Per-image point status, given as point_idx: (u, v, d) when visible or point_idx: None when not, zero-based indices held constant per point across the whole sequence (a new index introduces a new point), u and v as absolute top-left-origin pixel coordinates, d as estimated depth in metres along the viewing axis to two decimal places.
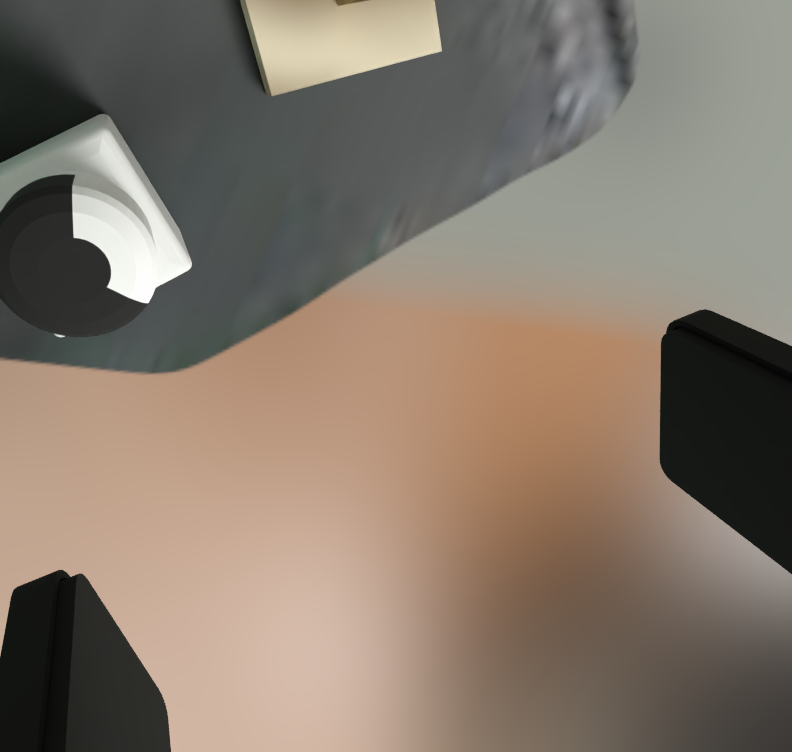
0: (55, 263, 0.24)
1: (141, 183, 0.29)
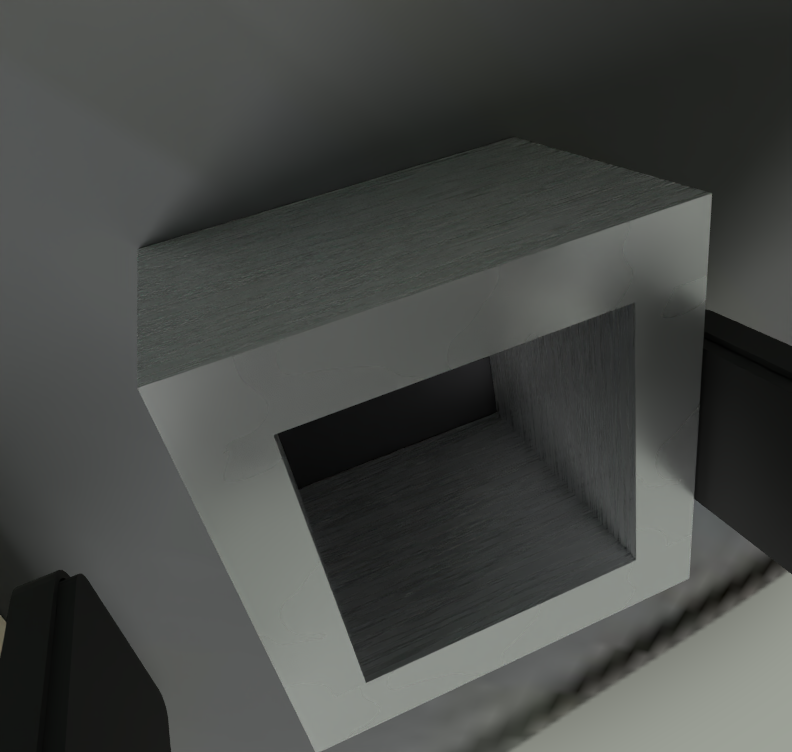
0: None
1: None
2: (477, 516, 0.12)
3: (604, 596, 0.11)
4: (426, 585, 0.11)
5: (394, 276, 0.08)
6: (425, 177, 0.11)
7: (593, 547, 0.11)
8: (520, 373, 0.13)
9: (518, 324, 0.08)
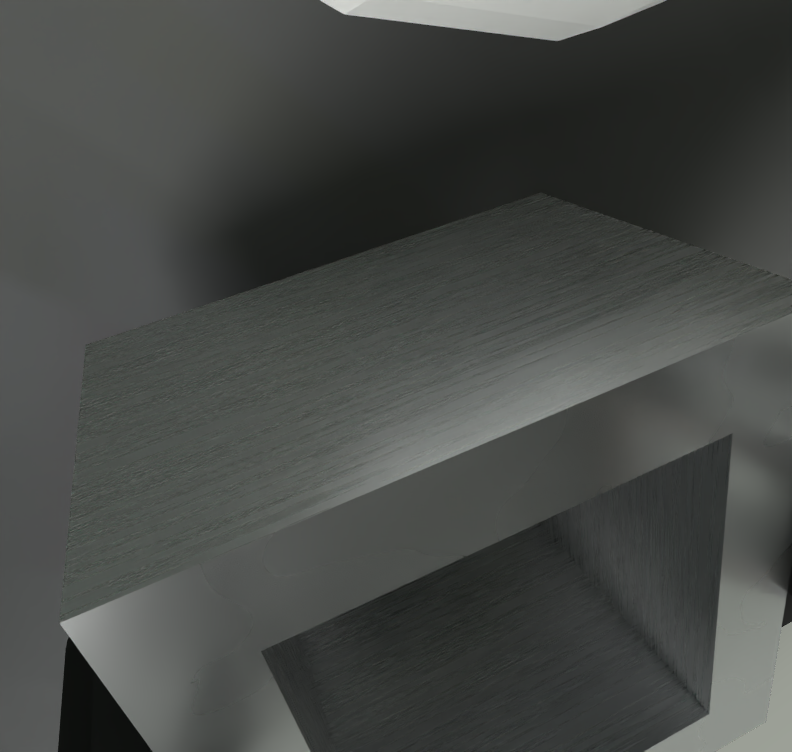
0: None
1: None
2: (506, 645, 0.10)
3: None
4: (451, 747, 0.09)
5: (421, 419, 0.06)
6: (440, 248, 0.09)
7: (653, 693, 0.09)
8: None
9: (587, 476, 0.06)
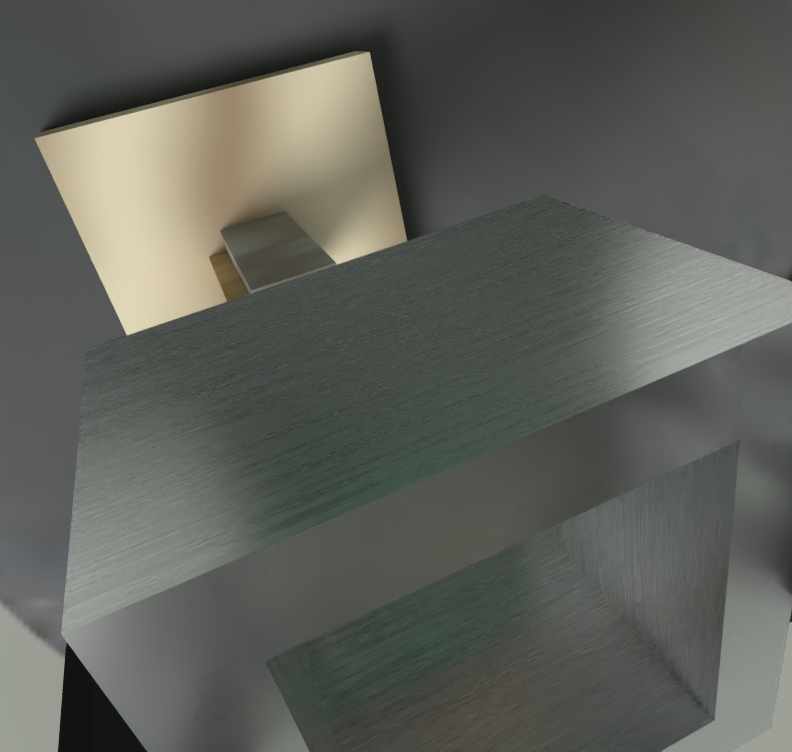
0: None
1: None
2: (510, 650, 0.10)
3: None
4: None
5: (426, 427, 0.06)
6: (444, 252, 0.09)
7: (658, 699, 0.09)
8: None
9: (594, 483, 0.06)
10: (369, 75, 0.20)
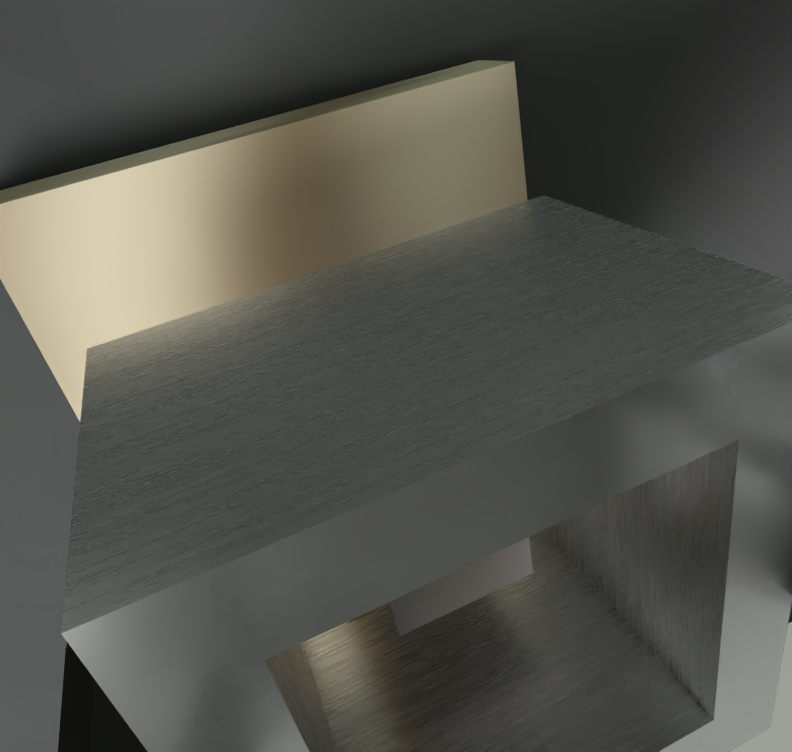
0: None
1: None
2: (510, 650, 0.10)
3: None
4: None
5: (426, 426, 0.06)
6: (443, 252, 0.09)
7: (657, 699, 0.09)
8: None
9: (593, 483, 0.06)
10: (511, 98, 0.13)
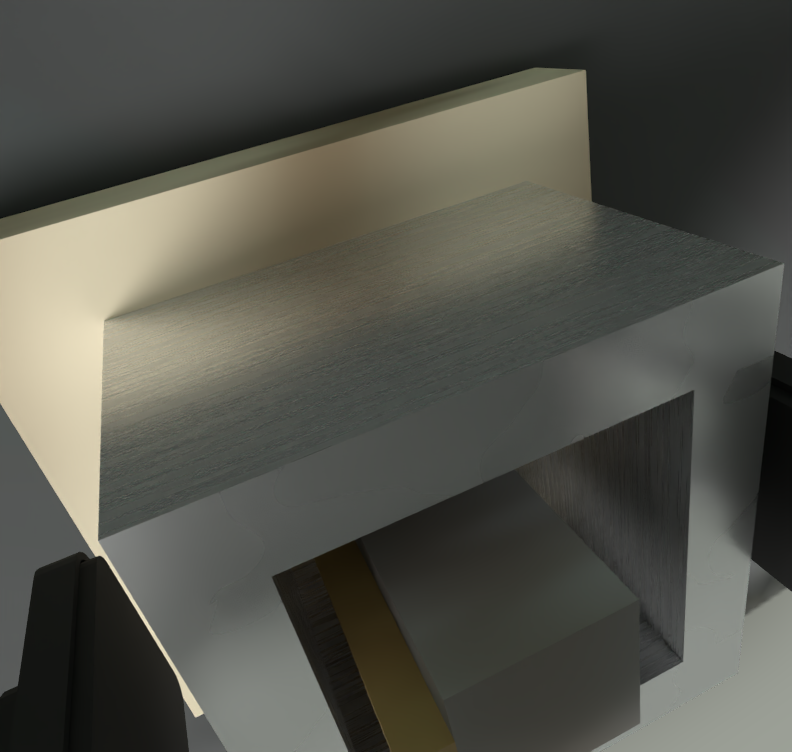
0: None
1: None
2: None
3: (647, 703, 0.10)
4: None
5: (413, 373, 0.06)
6: (432, 231, 0.10)
7: None
8: None
9: (562, 425, 0.07)
10: (580, 114, 0.11)
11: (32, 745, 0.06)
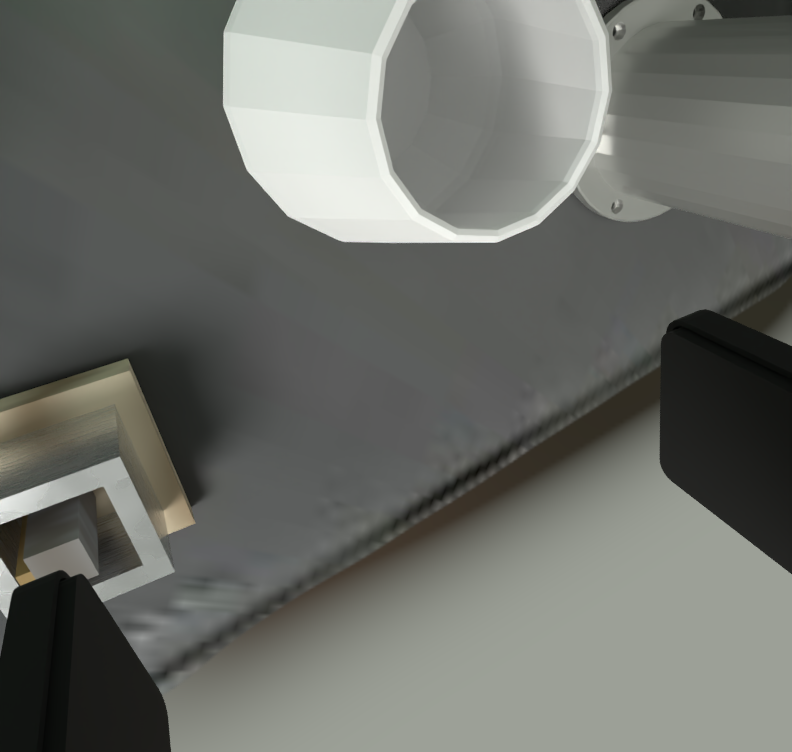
0: None
1: None
2: (101, 550, 0.32)
3: (133, 578, 0.30)
4: None
5: (21, 484, 0.27)
6: (68, 428, 0.30)
7: (133, 561, 0.31)
8: None
9: (60, 496, 0.27)
10: (131, 382, 0.32)
11: None
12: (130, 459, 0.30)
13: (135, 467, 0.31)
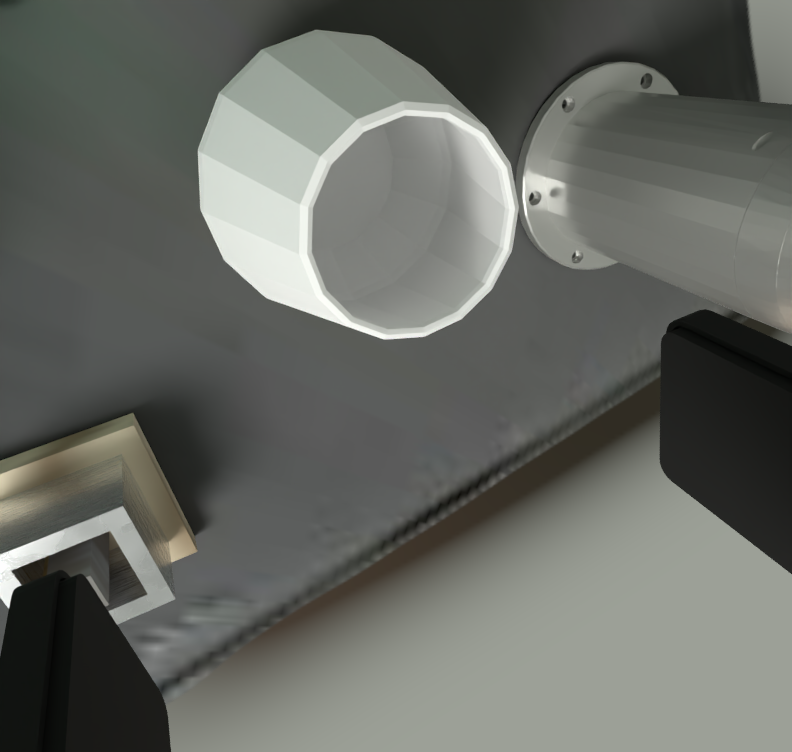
0: None
1: None
2: (113, 580, 0.37)
3: (140, 605, 0.35)
4: None
5: (42, 530, 0.32)
6: (82, 477, 0.35)
7: (139, 590, 0.35)
8: None
9: (74, 540, 0.32)
10: (135, 435, 0.36)
11: None
12: (134, 503, 0.35)
13: (139, 509, 0.36)
